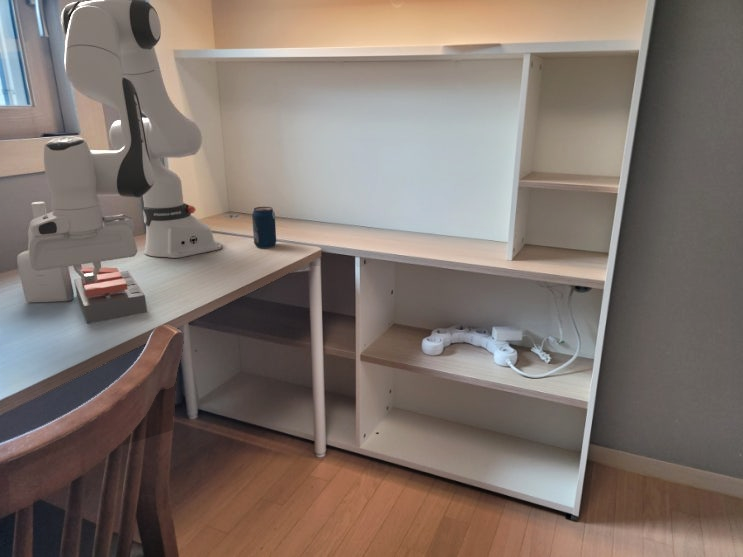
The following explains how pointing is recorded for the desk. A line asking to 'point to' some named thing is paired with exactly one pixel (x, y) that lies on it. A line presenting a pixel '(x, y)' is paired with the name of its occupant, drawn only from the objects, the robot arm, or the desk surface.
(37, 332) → the desk surface
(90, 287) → the block
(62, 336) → the desk surface
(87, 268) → the block
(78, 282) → the rocker switch panel
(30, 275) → the photo printer
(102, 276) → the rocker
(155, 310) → the desk surface
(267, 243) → the soda can
